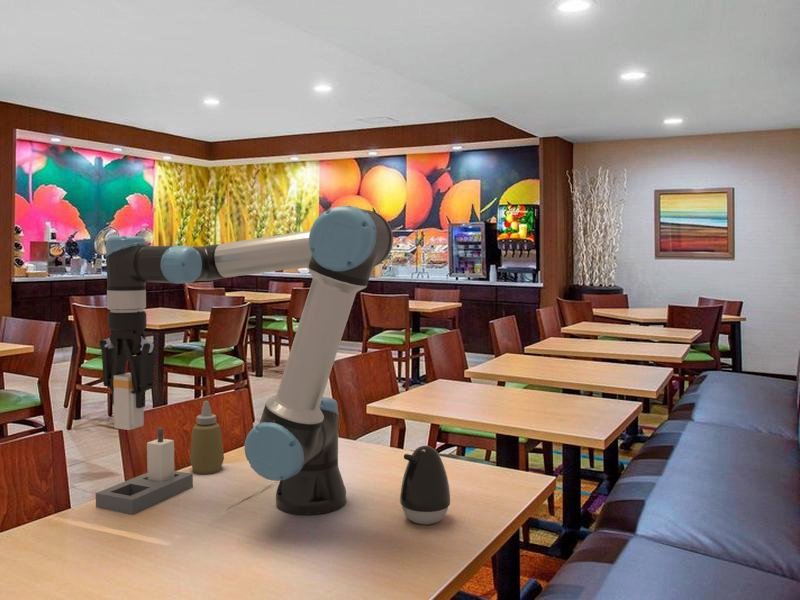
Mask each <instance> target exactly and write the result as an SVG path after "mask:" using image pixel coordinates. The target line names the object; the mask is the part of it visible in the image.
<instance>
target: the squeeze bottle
mask: <svg viewBox="0 0 800 600" xmlns="http://www.w3.org/2000/svg"><path fill="white" fill-rule="evenodd" d="M202 402H203V404H202V407H201V412H200V414H198V415H197V416H196V424H194V426H192V432H191V440H190V441H191V442H190V453H189V454H190V455H189V462H190V465H191V467H192V471H193V473H194V474H198V475H211V474H216V473H218V472H220V470H221V469H222V466H223V463H224V459H225V456H224V454H225V453H224V446H223V439H222V431H221V425H220V424H219V423H217V415H216V414H213V413H212V409H211V405H210V401H209V400H204V401H202Z"/></svg>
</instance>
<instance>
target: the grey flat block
mask: <svg viewBox="0 0 800 600" xmlns="http://www.w3.org/2000/svg"><path fill="white" fill-rule="evenodd" d="M174 473H175V477H173V478H171V479H169V480H166V481H164V482H157V481H151V480H148V471H147V472H146V473H142V474H140V475H138V476H135V477H133V478H129V479H128V480H125V481H123V482H121V483H118V484H115V485H113V486H110V487H108V488H105V489H103V490H100V491H97V492H95V508H97V509H102V510H107V511H111V512H116V513H121V514H126V515H130V516H131V515H132V516H133V515H136V514H137V513H140V512H142V511H145V510H146V509H148V508H149V509H150V507H152V506H154V505H158V504H159V503H162V502H164V501H166V500H168V499H170V498H173V497H174V496H176V495H179V494H181V493H183V492H185V491H188V490H189V489H192V488H193V487H194V481H193V480H194V479H193V478H194V474H193V473H190V472H189V473H188V472H185V471H184V472H183V471H178V470H174Z"/></svg>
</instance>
